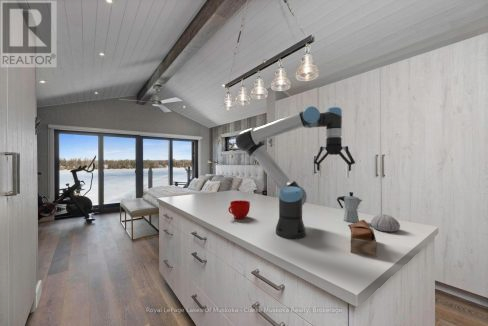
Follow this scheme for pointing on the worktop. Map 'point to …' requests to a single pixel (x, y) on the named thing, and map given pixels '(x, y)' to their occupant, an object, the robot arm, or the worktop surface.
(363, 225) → the sunglasses case
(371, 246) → the walnut block
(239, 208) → the ceramic cup
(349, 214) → the coffee maker
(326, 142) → the robot arm
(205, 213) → the worktop surface
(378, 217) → the sea urchin shell
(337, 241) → the worktop surface
